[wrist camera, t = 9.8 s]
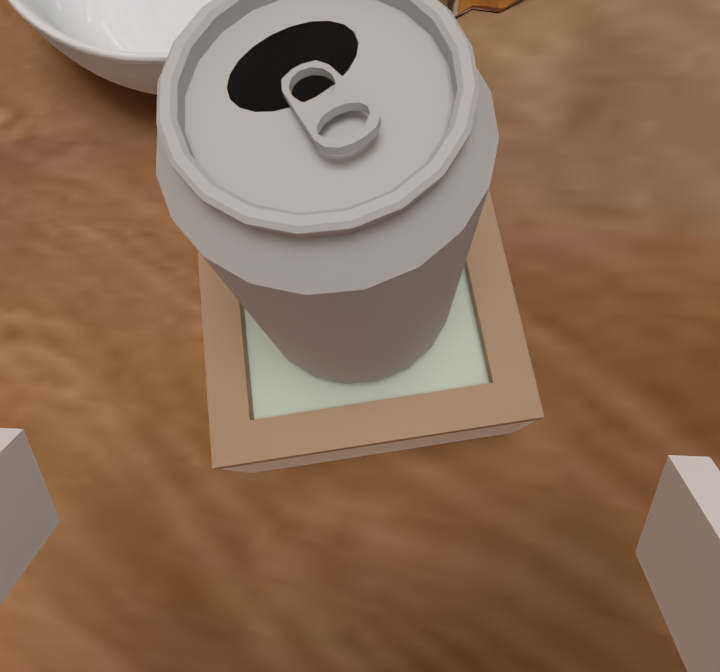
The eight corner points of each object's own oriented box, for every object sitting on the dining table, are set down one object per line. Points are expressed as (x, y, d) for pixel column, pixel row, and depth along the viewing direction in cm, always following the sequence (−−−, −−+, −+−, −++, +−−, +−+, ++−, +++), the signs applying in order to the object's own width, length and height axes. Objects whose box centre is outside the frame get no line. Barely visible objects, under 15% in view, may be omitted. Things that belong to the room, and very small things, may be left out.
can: (384, 180, 23) (376, -131, 11) (487, 323, 21) (603, 120, 9) (230, 270, 22) (55, 33, 11) (322, 425, 20) (229, 342, 9)
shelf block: (510, 433, 25) (544, 417, 19) (252, 472, 25) (212, 468, 19) (458, 202, 28) (475, 132, 23) (232, 239, 28) (192, 178, 23)
